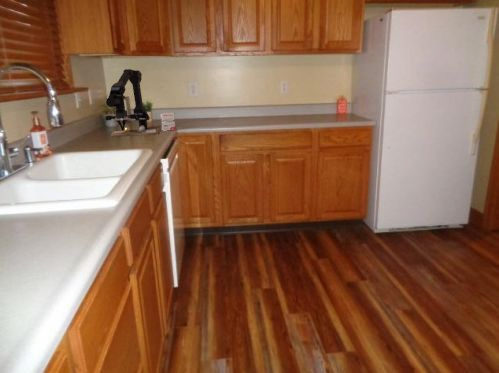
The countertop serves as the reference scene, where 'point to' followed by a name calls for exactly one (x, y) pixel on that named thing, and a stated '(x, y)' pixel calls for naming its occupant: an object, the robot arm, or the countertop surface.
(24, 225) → the countertop surface
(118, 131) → the loose leaf
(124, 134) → the hinge board
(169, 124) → the ink box
